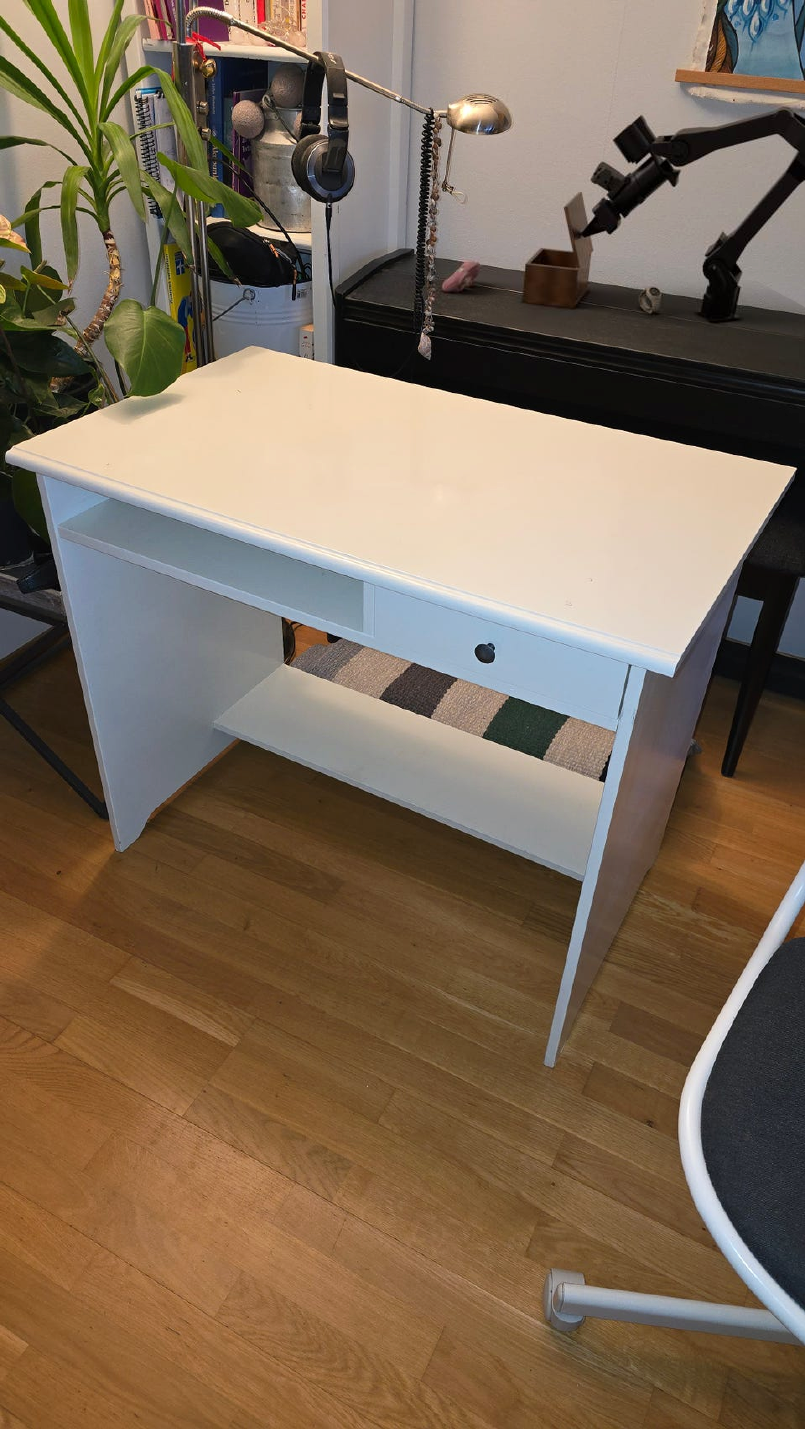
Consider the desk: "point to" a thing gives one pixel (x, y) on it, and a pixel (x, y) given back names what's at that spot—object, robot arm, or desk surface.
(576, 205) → the sorter lid
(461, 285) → the pink rounded lump
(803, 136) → the robot arm
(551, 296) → the sorter box
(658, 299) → the wristwatch
